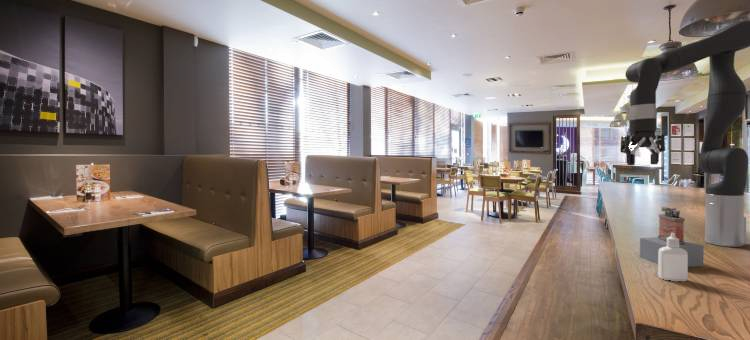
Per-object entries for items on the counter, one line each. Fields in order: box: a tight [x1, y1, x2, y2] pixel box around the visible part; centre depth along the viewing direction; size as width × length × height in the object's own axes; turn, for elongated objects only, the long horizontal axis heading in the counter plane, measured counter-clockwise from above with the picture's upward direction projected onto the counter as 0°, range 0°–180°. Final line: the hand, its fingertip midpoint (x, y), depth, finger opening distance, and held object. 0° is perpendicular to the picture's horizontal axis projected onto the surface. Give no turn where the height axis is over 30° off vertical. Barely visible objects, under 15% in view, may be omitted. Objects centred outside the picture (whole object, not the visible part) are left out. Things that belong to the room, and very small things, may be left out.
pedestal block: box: [639, 236, 705, 268], centre depth 100 cm, size 10×10×6 cm
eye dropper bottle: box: [657, 233, 689, 282], centre depth 86 cm, size 4×6×12 cm
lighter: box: [657, 206, 685, 245], centre depth 100 cm, size 8×3×10 cm, turn 173°
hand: (642, 164), depth 118 cm, fingers open, 8 cm apart
